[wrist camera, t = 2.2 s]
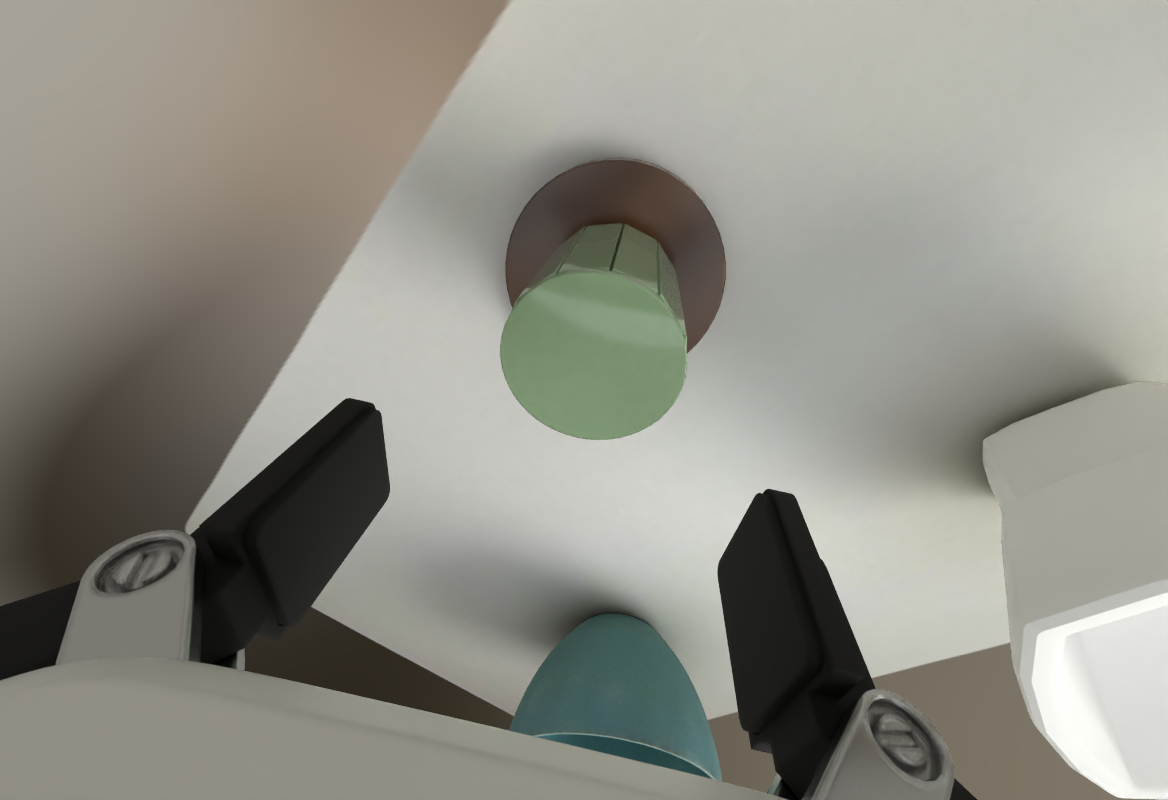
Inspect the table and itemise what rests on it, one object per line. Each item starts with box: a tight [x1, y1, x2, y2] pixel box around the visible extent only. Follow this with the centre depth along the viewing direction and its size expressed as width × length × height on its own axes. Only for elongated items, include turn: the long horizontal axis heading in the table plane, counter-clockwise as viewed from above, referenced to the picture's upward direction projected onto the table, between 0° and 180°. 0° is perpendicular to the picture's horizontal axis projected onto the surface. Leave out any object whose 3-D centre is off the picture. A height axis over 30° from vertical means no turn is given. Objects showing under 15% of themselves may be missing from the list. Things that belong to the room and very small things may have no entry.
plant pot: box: [509, 614, 722, 782], centre depth 40 cm, size 18×18×12 cm
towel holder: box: [506, 158, 726, 353], centre depth 20 cm, size 12×12×10 cm
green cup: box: [500, 223, 687, 440], centre depth 19 cm, size 7×7×8 cm
